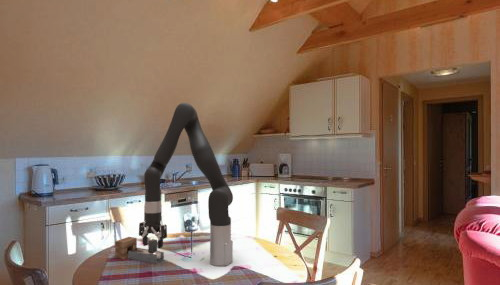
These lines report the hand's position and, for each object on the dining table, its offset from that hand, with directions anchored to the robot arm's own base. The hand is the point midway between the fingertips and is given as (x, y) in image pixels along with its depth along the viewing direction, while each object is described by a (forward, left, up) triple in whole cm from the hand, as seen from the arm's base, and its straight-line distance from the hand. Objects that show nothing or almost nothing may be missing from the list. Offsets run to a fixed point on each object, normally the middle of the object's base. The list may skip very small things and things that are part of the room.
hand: (152, 246), depth 147 cm
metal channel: (+4, 0, -6) cm, 7 cm away
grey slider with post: (+2, 0, -5) cm, 6 cm away
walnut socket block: (+16, 0, -6) cm, 17 cm away
